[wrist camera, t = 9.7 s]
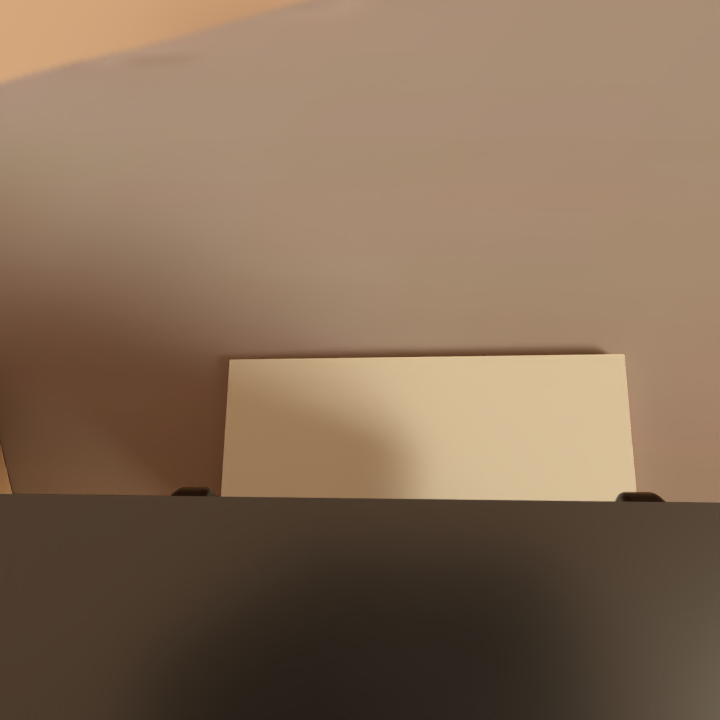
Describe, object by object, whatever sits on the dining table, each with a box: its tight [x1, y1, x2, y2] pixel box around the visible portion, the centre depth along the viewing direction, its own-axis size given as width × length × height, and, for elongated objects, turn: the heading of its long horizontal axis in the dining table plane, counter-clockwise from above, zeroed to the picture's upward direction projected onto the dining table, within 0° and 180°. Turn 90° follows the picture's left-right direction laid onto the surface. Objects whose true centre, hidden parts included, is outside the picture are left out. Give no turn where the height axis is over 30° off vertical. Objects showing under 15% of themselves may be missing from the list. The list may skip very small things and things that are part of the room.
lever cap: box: [0, 494, 720, 720], centre depth 7 cm, size 3×5×9 cm, turn 89°
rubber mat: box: [221, 354, 636, 501], centre depth 14 cm, size 10×10×1 cm
